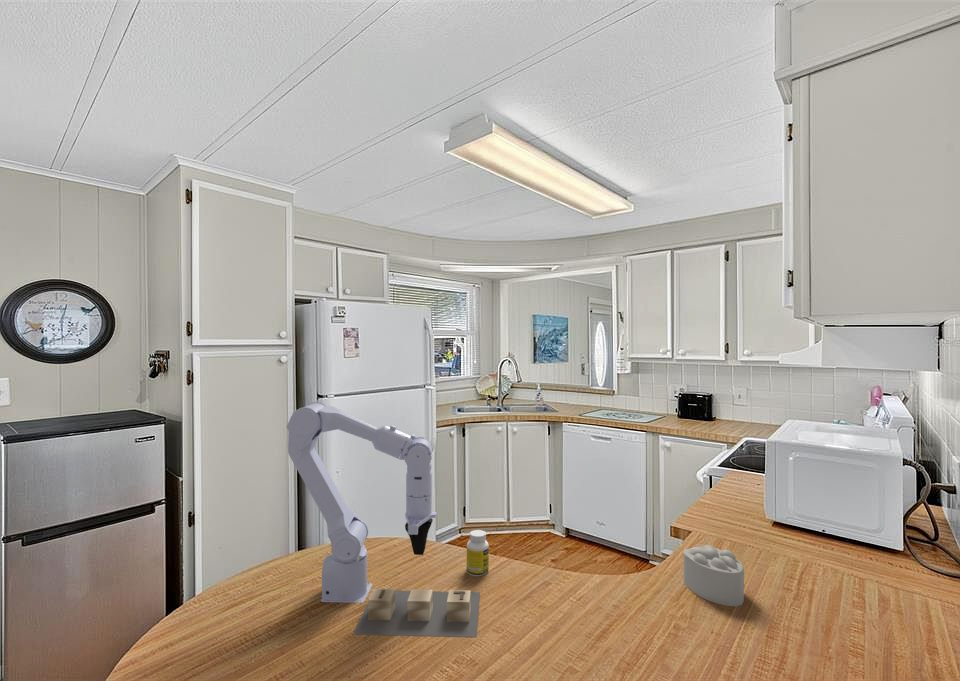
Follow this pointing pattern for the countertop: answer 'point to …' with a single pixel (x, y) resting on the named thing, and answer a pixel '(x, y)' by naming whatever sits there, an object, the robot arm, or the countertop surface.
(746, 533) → the countertop surface
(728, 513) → the countertop surface
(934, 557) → the countertop surface
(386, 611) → the numbered block left
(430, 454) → the robot arm
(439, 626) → the charcoal mat
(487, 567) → the supplement bottle
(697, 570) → the lumpy-topped squat cylinder
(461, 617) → the numbered block right
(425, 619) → the plain birch block
